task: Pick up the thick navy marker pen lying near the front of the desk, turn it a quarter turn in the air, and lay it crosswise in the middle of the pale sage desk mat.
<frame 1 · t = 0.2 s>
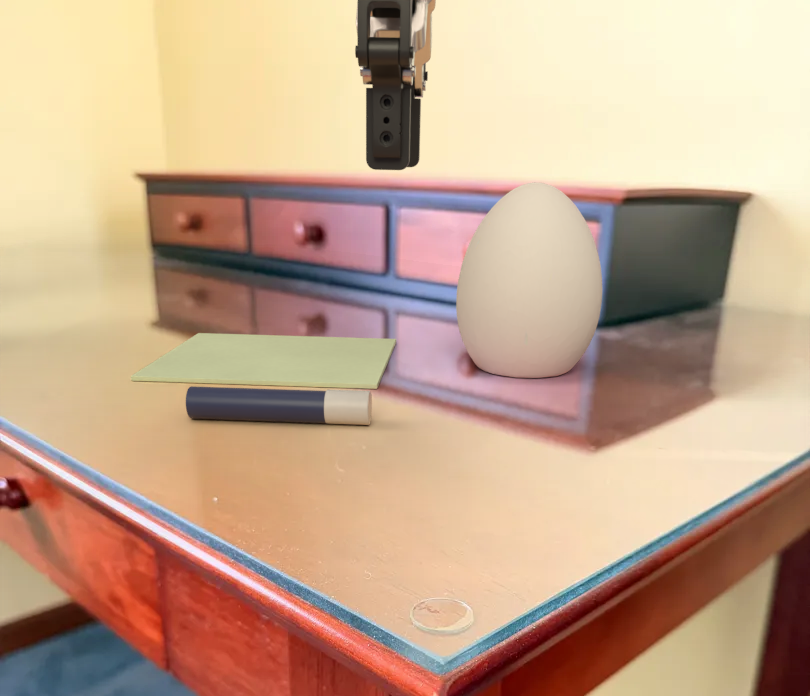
hand: (394, 168, 46), 16 cm above the table, tool pointing down, fingers open, 8 cm apart
marker: (278, 418, 57), on the table, tilted 22°
decorative egg: (522, 369, 72), on the table
desk mat: (277, 359, 74), on the table
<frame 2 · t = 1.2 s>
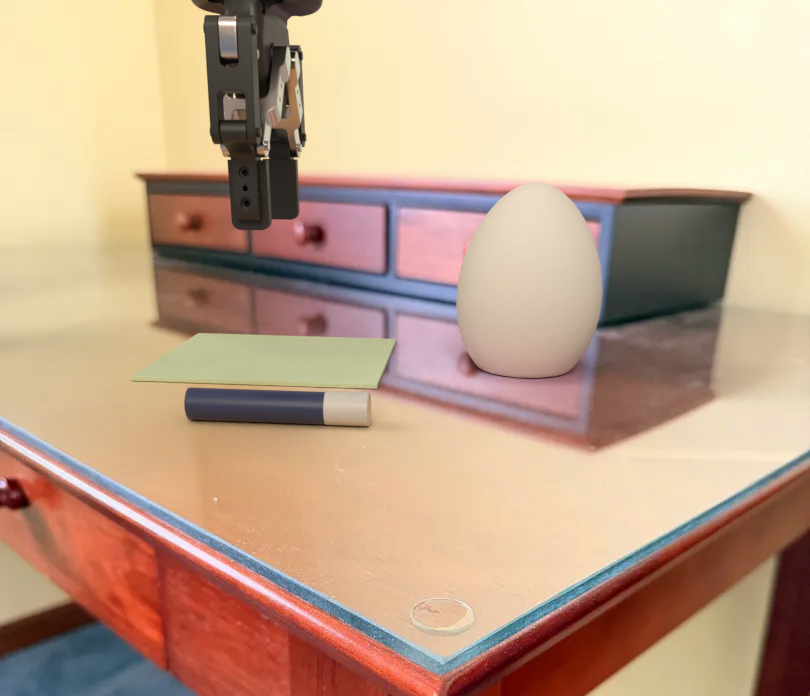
hand: (268, 224, 52), 13 cm above the table, tool pointing down, fingers open, 8 cm apart
marker: (277, 416, 57), on the table, tilted 38°
everything else where it was.
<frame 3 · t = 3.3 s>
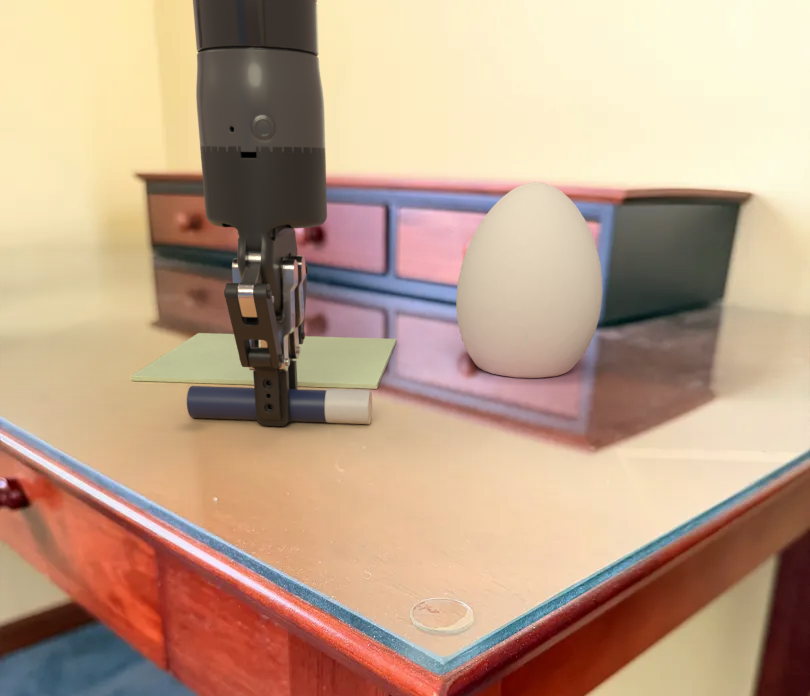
hand: (278, 417, 57), 0 cm above the table, tool pointing down, fingers closed on marker, 2 cm apart
marker: (278, 418, 57), on the table, tilted 15°, touching gripper
everything else where it was.
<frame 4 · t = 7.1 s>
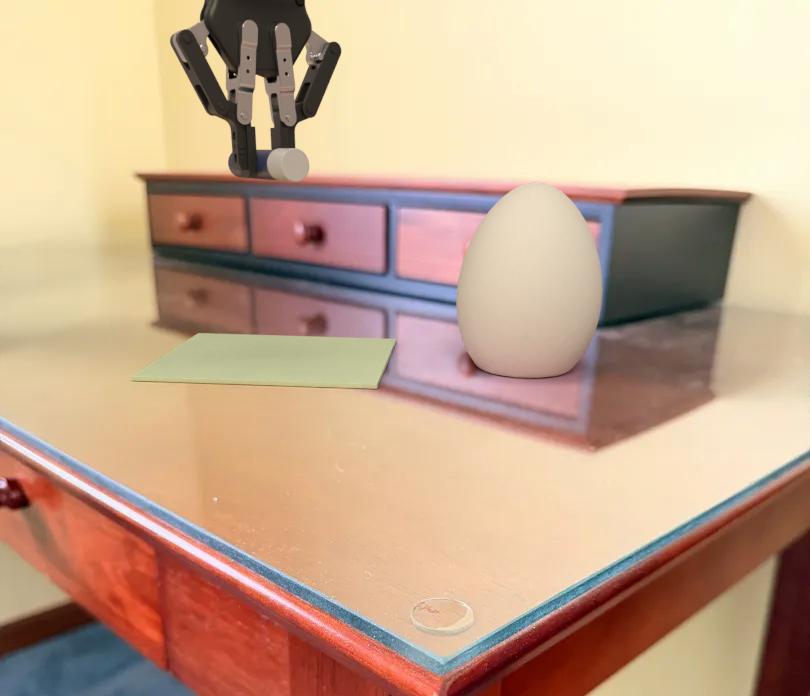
hand: (265, 176, 67), 15 cm above the table, tool pointing down, fingers closed on marker
marker: (268, 179, 67), point 15 cm above the table, tilted 15°, touching gripper
everything else where it was.
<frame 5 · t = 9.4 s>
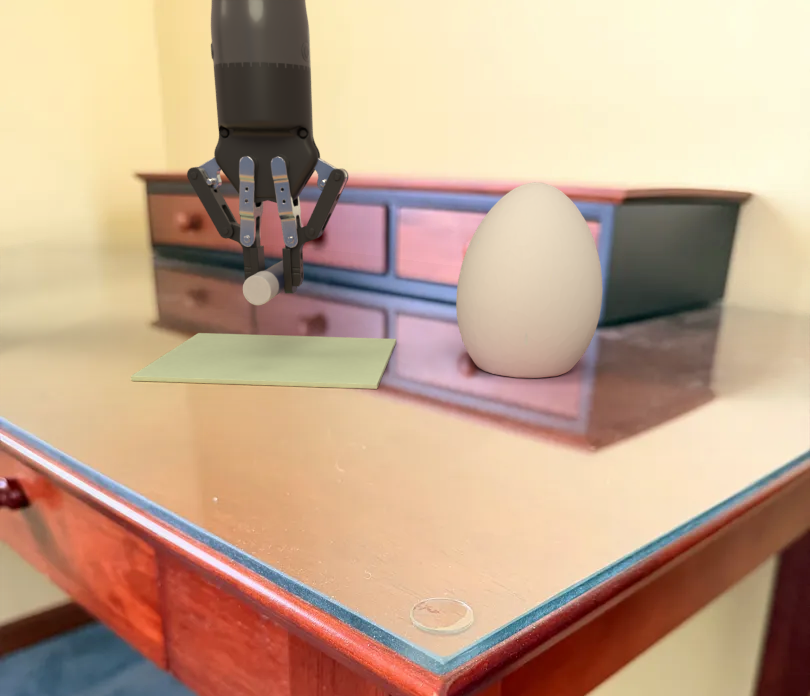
hand: (274, 291, 71), 6 cm above the table, tool pointing down, fingers closed on marker
marker: (278, 292, 71), point 6 cm above the table, tilted 15°, touching gripper
everything else where it was.
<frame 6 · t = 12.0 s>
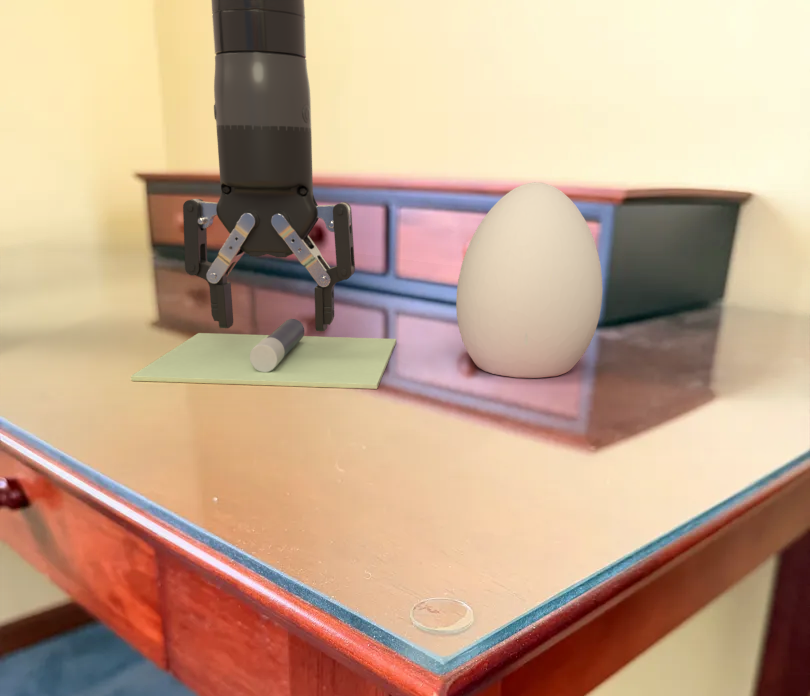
hand: (273, 328, 72), 3 cm above the table, tool pointing down, fingers open, 8 cm apart
marker: (281, 355, 74), resting on desk mat
everything else where it was.
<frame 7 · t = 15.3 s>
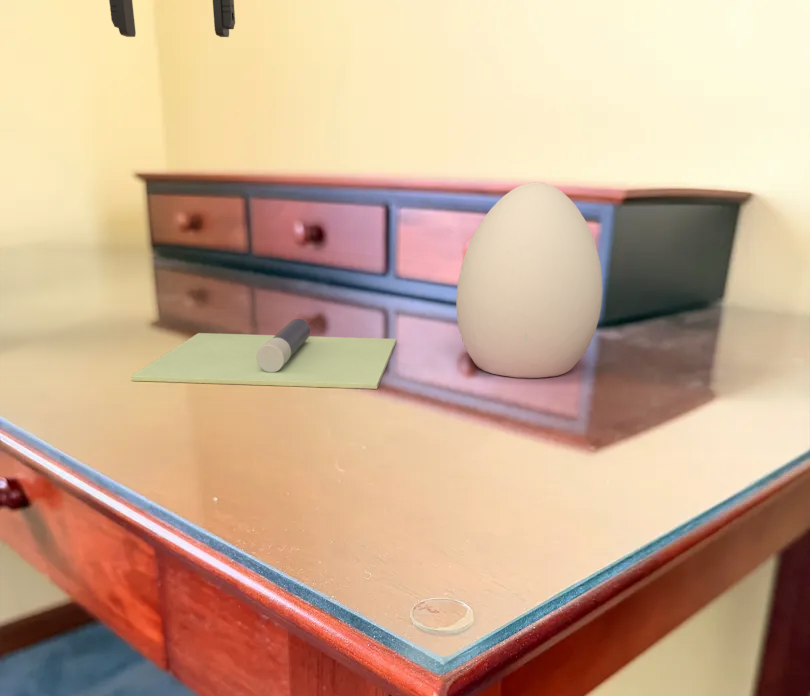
hand: (174, 36, 72), 26 cm above the table, tool pointing down, fingers open, 8 cm apart
marker: (281, 354, 74), resting on desk mat, tilted 24°
everything else where it was.
at the end: marker inside the target area on the desk mat (0.4 cm from its centre), point 0.5 cm above the desk mat's base; the gripper is holding nothing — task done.
